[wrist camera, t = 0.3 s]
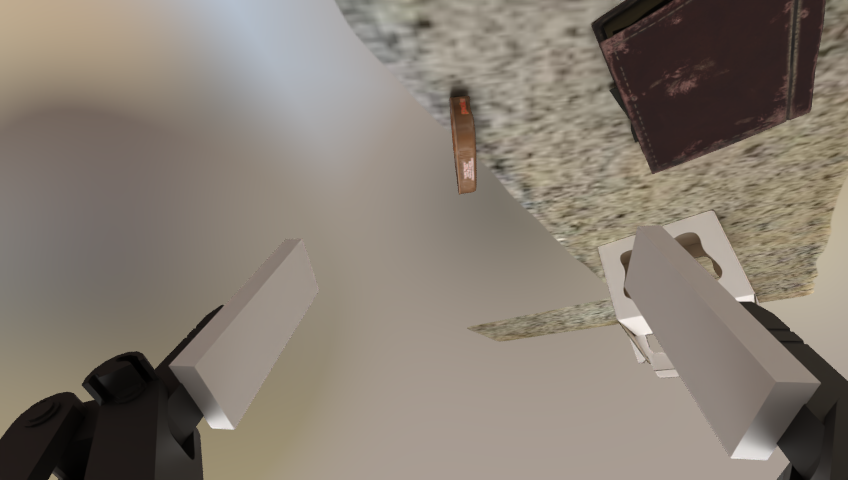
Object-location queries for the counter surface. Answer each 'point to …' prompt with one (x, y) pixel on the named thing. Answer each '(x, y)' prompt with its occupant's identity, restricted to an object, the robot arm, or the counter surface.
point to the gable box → (698, 240)
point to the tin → (463, 143)
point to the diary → (709, 70)
